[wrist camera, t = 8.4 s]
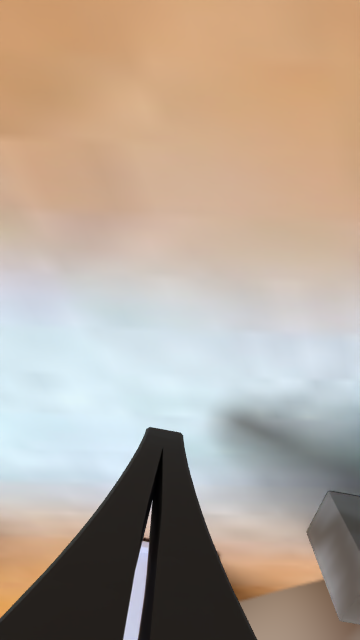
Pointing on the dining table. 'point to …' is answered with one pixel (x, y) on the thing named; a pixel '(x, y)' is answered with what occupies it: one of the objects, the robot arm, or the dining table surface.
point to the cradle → (339, 551)
